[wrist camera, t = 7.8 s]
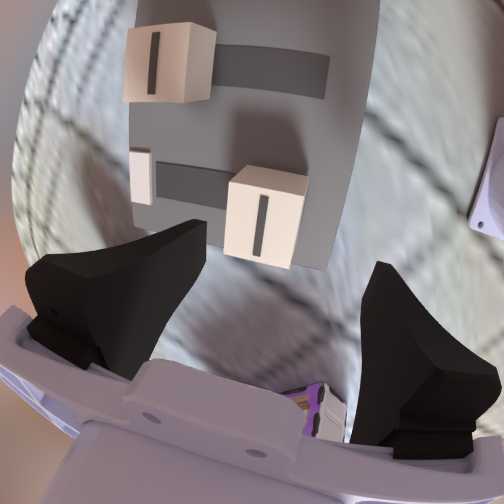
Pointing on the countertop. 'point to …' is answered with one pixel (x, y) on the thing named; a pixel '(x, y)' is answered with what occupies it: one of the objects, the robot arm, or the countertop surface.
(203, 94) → the knob
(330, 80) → the panel
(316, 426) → the candy box
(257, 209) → the knob
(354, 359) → the countertop surface
